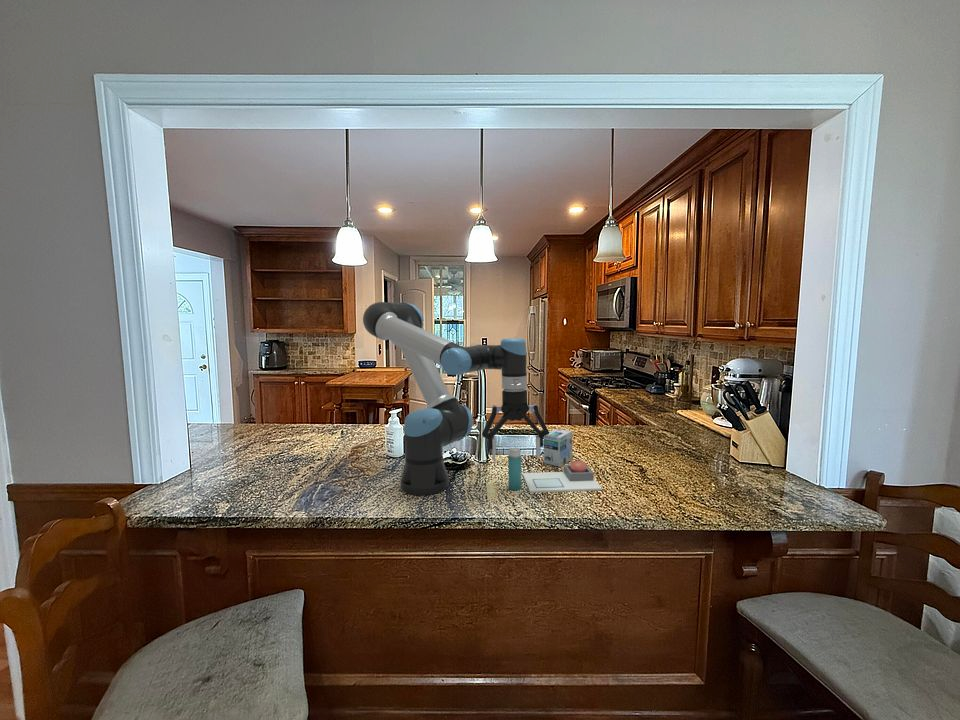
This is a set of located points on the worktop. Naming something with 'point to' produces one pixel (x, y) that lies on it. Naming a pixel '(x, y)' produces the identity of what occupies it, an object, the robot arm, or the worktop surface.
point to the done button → (577, 466)
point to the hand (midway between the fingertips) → (516, 458)
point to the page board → (561, 481)
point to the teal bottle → (514, 469)
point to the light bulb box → (558, 447)
